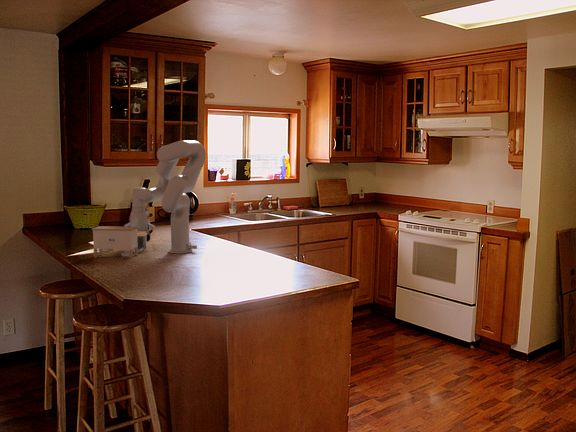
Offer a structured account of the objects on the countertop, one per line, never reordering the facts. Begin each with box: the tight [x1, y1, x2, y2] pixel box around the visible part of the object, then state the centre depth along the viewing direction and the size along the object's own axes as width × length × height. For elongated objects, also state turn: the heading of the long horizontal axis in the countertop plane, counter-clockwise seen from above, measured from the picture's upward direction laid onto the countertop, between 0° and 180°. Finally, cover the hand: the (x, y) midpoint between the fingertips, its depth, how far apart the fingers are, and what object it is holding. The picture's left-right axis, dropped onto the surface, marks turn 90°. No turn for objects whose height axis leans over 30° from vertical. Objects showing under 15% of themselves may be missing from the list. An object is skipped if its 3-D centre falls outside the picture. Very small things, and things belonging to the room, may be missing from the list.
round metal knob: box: [120, 251, 130, 258], centre depth 294 cm, size 4×4×2 cm
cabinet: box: [91, 225, 139, 259], centre depth 293 cm, size 21×10×15 cm, turn 84°
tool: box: [127, 235, 147, 255], centre depth 308 cm, size 4×17×7 cm, turn 173°
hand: (139, 240), depth 315 cm, fingers open, 9 cm apart
